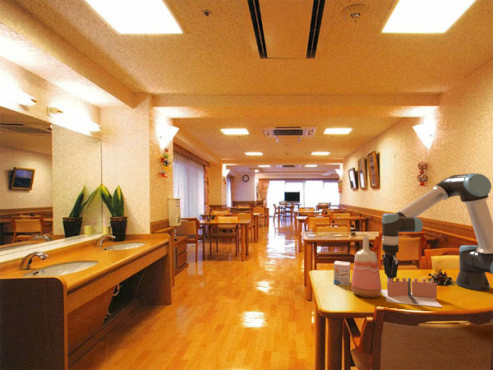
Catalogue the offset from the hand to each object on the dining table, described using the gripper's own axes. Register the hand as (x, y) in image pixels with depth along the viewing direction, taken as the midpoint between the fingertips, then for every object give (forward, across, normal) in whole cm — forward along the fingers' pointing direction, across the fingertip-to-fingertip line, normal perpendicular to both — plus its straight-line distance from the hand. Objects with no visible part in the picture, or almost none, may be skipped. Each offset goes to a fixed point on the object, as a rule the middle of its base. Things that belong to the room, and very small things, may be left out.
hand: (390, 289), depth 148 cm
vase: (+3, 0, -13) cm, 13 cm away
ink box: (+3, -19, -18) cm, 27 cm away
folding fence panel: (+2, +3, +2) cm, 4 cm away
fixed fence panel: (+2, +3, +14) cm, 15 cm away
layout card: (+3, +4, +7) cm, 9 cm away
